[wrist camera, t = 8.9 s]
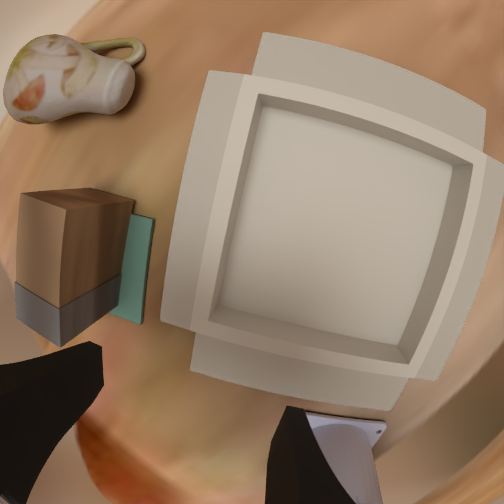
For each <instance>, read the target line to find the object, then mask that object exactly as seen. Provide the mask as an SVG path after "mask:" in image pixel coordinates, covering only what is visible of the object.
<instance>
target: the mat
mask: <svg viewBox="0 0 504 504" xmlns="http://www.w3.org/2000/svg"><path fill="white" fill-rule="evenodd" d="M154 223H155V219H153V218H149V217H145V216H141V215H136V214H132V213H131V218H130V223H129V228H128V233H127V239H126V245H125V251H124V257H123V263H122V270H121V274H122V279H121V286H120V294H119V303H118V306H117V307H115V308H114V309H112V310H111V311H110V312H108V313H110V314H113V315H115V316H118V317H121V318H123V319H126V320H128V321H131V322H134V323H136V324H139V325H141V324H142V323H143V313H144V302H145V291H146V282H147V273H148V265H149V257H150V250H151V243H152V236H153V229H154Z"/></svg>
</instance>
